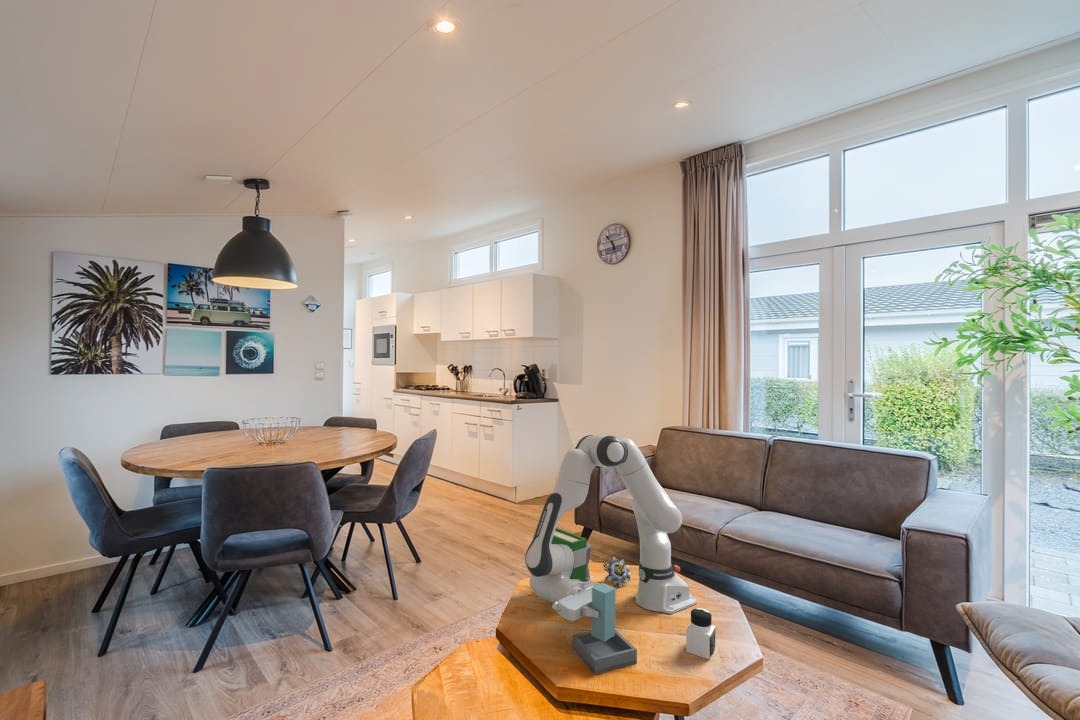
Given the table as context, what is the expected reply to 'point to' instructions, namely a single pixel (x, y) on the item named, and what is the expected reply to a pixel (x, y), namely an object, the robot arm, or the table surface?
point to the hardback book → (578, 549)
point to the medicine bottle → (700, 634)
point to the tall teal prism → (603, 611)
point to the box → (604, 652)
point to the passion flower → (617, 571)
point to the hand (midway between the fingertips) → (605, 611)
